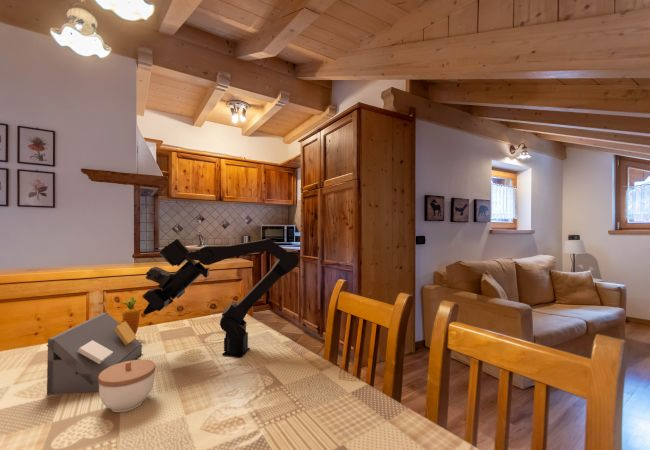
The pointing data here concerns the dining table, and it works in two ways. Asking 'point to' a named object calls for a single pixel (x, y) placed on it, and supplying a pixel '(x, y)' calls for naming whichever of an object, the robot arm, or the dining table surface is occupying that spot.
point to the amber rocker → (125, 332)
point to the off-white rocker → (95, 351)
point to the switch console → (78, 370)
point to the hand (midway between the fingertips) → (144, 313)
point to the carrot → (131, 315)
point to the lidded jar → (126, 384)
